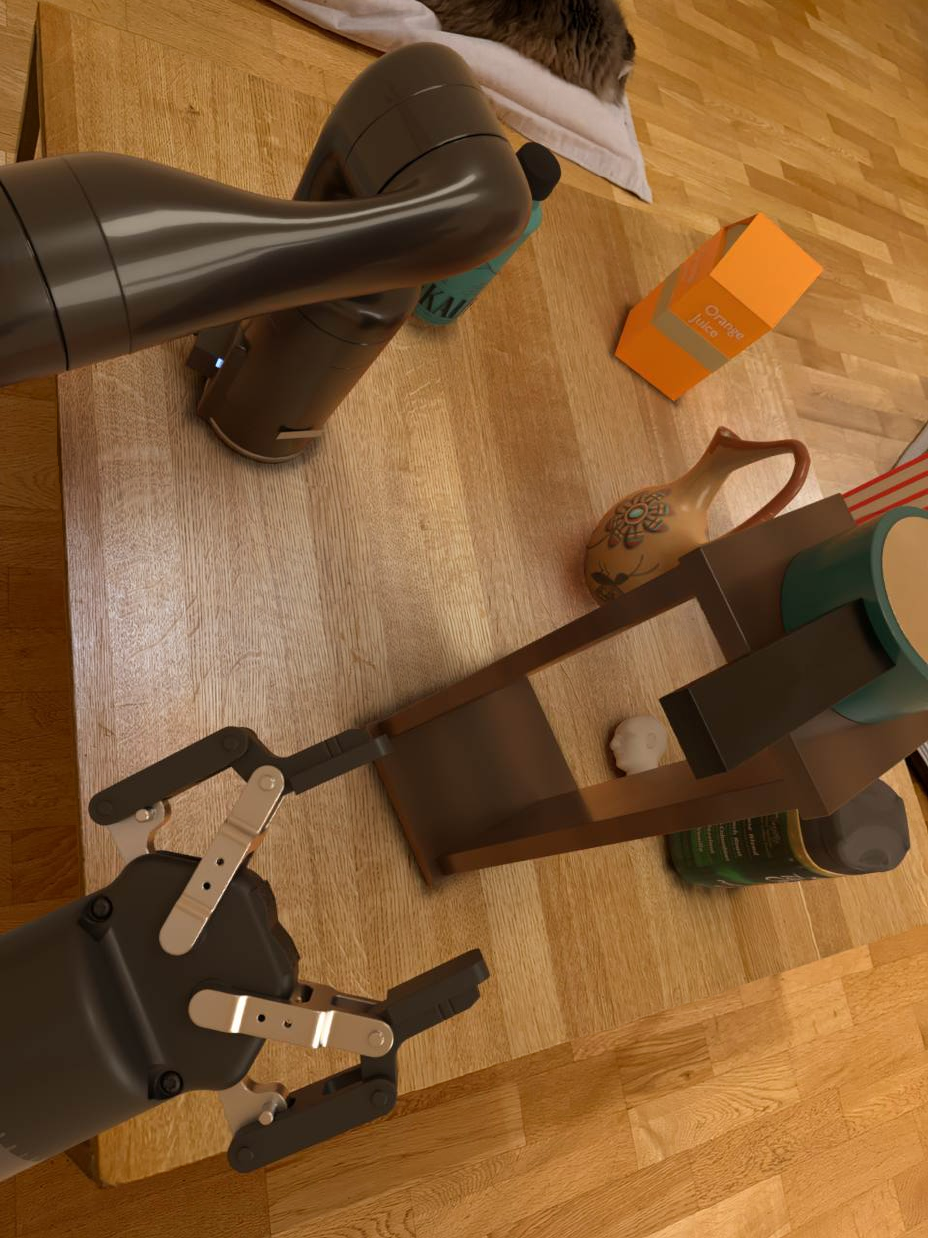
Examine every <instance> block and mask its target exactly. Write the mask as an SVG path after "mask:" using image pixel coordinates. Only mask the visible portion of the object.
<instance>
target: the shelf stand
mask: <svg viewBox="0 0 928 1238" xmlns="http://www.w3.org/2000/svg"><path fill="white" fill-rule="evenodd" d="M856 525H857V524H856V522H855V520H854V518H853V516H852V514H851V512H850V510H849V508H848V507H847V505H846V503H845V501H844V499H843V497H842V493H841V492H837V493H835V494H832V495H830V496H829V495H828V496H827V497H824V498H822V499H821V498H820V499H819V500H816V501H814V502H811V503H809V504H806V505H803V506H800V507H798V508H796V509H794V510H791V511H787V512H785V513H782V514H780V515H776V516H775V517H774V518H772V519H770V520H767V521H764V522H762V523H759V524H757V525H754V526H752V527H749V528H746V529H744V530H741V531H739V532H736V533H733V534H731V535H728V536H726V537H723V538H720V539H718V540H715V541H713V542H710V543H708V544H705V545H702V546H700V547H698V548H696V549H694V550H692V551H690V552H688V553H686V554H685V555H683V556H681V557H679V558H678V561H679V563H680V565H679V566H677V567H675V568H673V569H671V570H669V571H667V572H665V573H663V574H661V575H660V576H658V577H656V578H654V579H652V580H650V581H648V582H646V583H644V584H642V585H640V586H639V587H637V588H635V589H633V590H631V591H629V592H627V593H625V594H623V595H621V596H619V597H618V598H616V599H614V600H612V601H610V602H608V603H606V604H604V605H602V606H598V607H596V608H595V609H593V610H591V611H589V612H587V613H585V614H583V615H581V616H579V617H578V618H575V619H573V620H572V621H570V622H568V623H566V624H564V625H562V626H560V627H558V628H556V629H554V630H552V631H551V632H548V633H547V634H545V635H542V636H541V637H539V638H537V639H536V640H534V641H531V642H529V643H527V644H525V645H524V646H522V647H520V648H518V649H516V650H515V651H512V652H511V653H509V654H507V655H505V656H503V657H501V658H499V659H497V660H495V661H493V662H491V663H490V664H487V665H485V666H484V667H482V668H480V669H478V670H475V671H474V672H473V673H471V674H468V675H467V676H465V677H462V678H461V679H459V680H457V681H455V682H452V683H451V684H449V685H447V686H445V687H444V688H442V689H440V690H438V691H436V692H434V693H433V694H430V695H428V696H425V698H422V699H420V700H419V701H416V702H415V703H413V704H410V705H408V706H405V707H403V708H401V709H399V710H396V711H394V712H391V713H389V714H387V715H384V716H382V717H380V718H377V719H375V720H373V721H370V722H368V723H366V724H363V725H362V726H360V727H359V729H361V728H365V729H367V732H368V734H369V736H370V738H371V740H373V739H375V738H377V737H380V736H382V735H384V734H386V735H387V737H388V739H389V742H390V744H391V746H392V748H393V752H391V753H389V754H386V755H384V756H382V757H380V758H378V759H375V760H373V761H372V762H373V764H374V765H375V767H376V769H377V772H378V774H379V776H380V779H381V782H382V784H383V786H384V789H385V791H386V792H387V795H388V797H389V799H390V803H391V804H392V806H393V808H394V811H395V813H396V815H397V818H398V821H399V822H400V825H401V827H402V830H403V832H404V834H405V836H406V839H407V842H408V843H409V846H410V848H411V850H412V852H413V855H414V857H415V860H416V862H417V864H418V866H419V869H420V870H421V873H422V876H423V878H424V880H425V882H426V884H427V887H433V886H437V885H439V884H441V883H442V882H444V881H445V880H448V879H449V878H451V877H453V876H454V875H457V874H463V873H468V872H473V871H479V870H483V869H488V868H490V869H491V868H495V867H499V866H504V865H510V864H517V863H521V862H526V861H531V860H536V859H541V858H547V857H552V856H558V855H563V854H569V853H574V852H578V851H585V850H589V849H595V848H600V847H606V846H610V845H617V844H621V843H627V842H631V841H637V840H643V839H647V838H653V837H657V836H663V835H664V836H665V835H669V833H675V832H680V831H685V830H690V829H696V828H701V827H706V826H712V825H717V824H722V823H727V822H733V821H738V820H743V819H749V818H754V817H759V816H764V815H770V814H775V813H780V812H785V811H791V810H796V809H798V811H799V813H800V815H801V817H802V819H803V820H807V819H813V818H818V817H824V816H829V815H831V814H832V813H833V812H835V811H836V810H837V809H838V808H840V807H841V806H842V805H844V804H845V803H846V802H848V801H849V800H850V799H852V798H853V797H854V796H856V795H857V794H858V793H860V792H861V791H862V790H864V789H865V788H866V787H868V786H869V785H870V784H872V783H873V782H874V781H875V780H877V779H878V778H879V779H880V778H881V777H882V776H884V775H885V774H886V773H887V772H889V771H890V770H892V769H893V768H894V767H895V766H896V765H898V764H899V763H901V762H902V761H903V760H905V759H906V758H908V757H909V756H910V755H911V754H913V753H914V752H915V751H917V750H918V749H919V748H920V747H922V746H923V745H924V744H926V743H927V742H928V710H927V711H923V712H919V713H915V714H911V715H907V716H904V717H900V718H896V719H892V720H888V721H884V722H881V723H876V724H866V723H860V722H857V721H854V720H851V719H849V718H847V717H845V716H843V715H841V714H840V713H838V712H837V711H835V710H834V709H832V708H829V709H827V710H826V711H824V712H823V713H821V714H820V715H818V716H816V717H815V718H813V719H812V720H810V721H809V722H807V723H805V724H804V725H802V726H801V727H799V728H797V729H796V730H794V731H793V732H791V733H790V734H788V735H786V736H785V737H783V738H782V739H780V740H778V741H777V742H775V743H774V744H772V745H771V746H769V747H767V748H766V749H764V750H763V751H761V752H759V753H758V754H756V755H755V756H753V757H752V758H750V759H748V760H747V761H745V762H744V763H742V764H740V765H739V766H737V767H736V768H734V769H733V770H731V771H729V772H727V773H723V774H719V775H715V776H711V777H707V778H703V779H699V780H696V779H695V776H694V774H693V772H692V770H691V768H690V766H689V764H688V761H687V759H686V758H685V759H683V760H679V761H675V762H673V763H672V762H671V763H667V764H664V765H661V766H658V768H654V769H650V770H647V771H643V772H639V773H636V774H632V775H629V776H626V775H625V776H622V777H618V778H615V779H611V780H608V781H604V782H600V783H597V784H593V785H589V786H585V787H582V788H579V787H578V784H577V782H576V779H575V778H574V776H573V774H572V771H571V768H570V766H569V765H568V762H567V760H566V758H565V756H564V754H563V751H562V750H561V747H560V745H559V742H558V740H557V739H556V736H555V734H554V732H553V730H552V727H551V725H550V722H549V721H548V718H547V717H546V714H545V712H544V710H543V708H542V706H541V703H540V702H539V698H538V697H537V695H536V693H535V690H534V688H533V686H532V684H531V681H530V679H529V677H531V676H534V675H535V674H537V673H539V672H542V671H543V670H546V669H547V668H550V667H553V666H554V665H556V664H558V663H560V662H563V661H565V660H567V659H569V658H571V657H574V656H575V655H578V654H580V653H582V652H584V651H587V650H588V649H590V648H592V647H594V646H596V645H598V644H602V643H603V642H604V641H607V640H609V639H612V638H613V637H616V636H617V635H620V634H622V633H624V632H626V631H628V630H630V629H633V628H634V627H636V626H640V625H641V624H644V623H645V622H647V621H650V620H652V619H653V618H656V617H658V616H660V615H663V614H665V613H667V612H669V611H671V610H673V609H674V608H677V607H679V606H681V605H683V604H686V603H687V602H689V601H692V600H694V599H696V601H697V603H698V605H699V607H700V609H701V611H702V613H703V615H704V617H705V620H706V622H707V624H708V626H709V628H710V630H711V632H712V634H713V636H714V638H715V641H716V642H717V645H718V646H719V649H720V651H721V653H722V655H723V657H724V659H725V661H726V664H727V663H729V662H731V661H732V660H734V659H736V658H738V657H740V656H742V655H744V654H746V653H748V652H750V651H752V650H754V649H756V648H758V647H759V646H761V645H763V644H765V643H767V642H769V641H771V640H773V639H775V638H777V637H779V636H781V635H783V634H785V630H784V626H783V620H782V613H781V590H782V584H783V579H784V576H785V573H786V571H787V569H788V567H789V565H790V563H791V562H792V561H793V559H794V558H795V557H796V556H797V555H798V554H799V553H800V552H802V551H804V550H805V549H807V548H809V547H811V546H814V545H816V544H818V543H820V542H822V541H824V540H826V539H828V538H831V537H833V536H835V535H837V534H839V533H841V532H843V531H846V530H848V529H850V528H852V527H854V526H856Z"/></svg>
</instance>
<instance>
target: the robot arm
mask: <svg viewBox="0 0 928 1238" xmlns="http://www.w3.org/2000/svg"><path fill="white" fill-rule="evenodd" d="M328 115H329V116H328V117H327V119H326V120H325V123H324V124H323V127H322V128H321V131H320V134H319V135H318V137H317V140H316V142H315V145H314V147H313V149H312V151H311V153H310V156H309V158H308V160H307V164H306V165H305V168H304V170H303V172H302V175H301V177H300V179H299V182H298V184H297V186H296V189H295V191H294V192H293V195H292V197H291V199H284V198H279V197H273V196H268V195H264V194H261V193H260V194H259V193H256V192H253V191H249V190H246V189H242V188H239V187H236V186H232V185H230V184H226V183H224V182H220V181H217V180H214V179H211V178H208V177H205V176H202V175H199V174H196V173H194V172H191V171H187V170H184V169H180V168H178V167H175V166H171V165H167V164H164V163H161V162H157V161H153V160H150V159H146V158H142V157H138V156H134V155H129V154H123V153H119V152H110V151H109V152H108V151H100V150H99V151H96V150H95V151H94V150H93V151H77V152H68V153H61V154H57V155H51V156H45V157H41V158H35V159H30V160H29V159H28V160H24V161H19V162H13V163H7V164H2V165H0V389H1V388H5V387H9V386H14V385H17V384H21V383H26V382H29V381H35V380H39V379H43V378H44V379H45V378H49V377H52V376H56V375H60V374H64V373H66V372H71V371H75V370H78V369H79V370H80V369H82V368H85V367H89V366H93V365H96V364H101V363H104V362H107V361H111V360H114V359H118V358H121V357H122V358H123V357H125V356H127V355H128V356H129V355H132V354H136V353H138V352H141V351H144V350H147V349H151V348H154V347H157V346H161V345H164V344H167V343H170V342H173V341H175V340H176V341H177V340H179V339H182V338H187V337H189V336H193V337H194V340H193V342H192V345H191V347H190V349H189V352H188V355H187V357H186V359H185V361H184V365H183V366H184V367H186V368H188V369H190V370H192V371H194V372H196V373H198V374H200V375H202V376H204V377H207V380H205V381H206V382H205V384H204V387H203V391H202V392H203V393H202V395H201V398H200V400H199V402H198V405H197V408H196V410H195V415H196V416H198V417H199V418H200V419H203V420H205V421H207V422H208V423H209V425H210V427H211V428H212V430H213V431H214V432H215V434H216V436H217V437H218V438H219V439H220V440H221V441H222V442H223V443H224V444H225V445H227V446H228V447H229V448H230V449H231V450H233V451H234V452H236V453H238V454H239V455H241V456H243V457H245V458H247V459H250V460H253V461H257V462H261V463H268V464H269V463H272V464H274V463H285V462H287V461H288V462H289V461H291V460H293V459H295V458H297V457H299V456H300V455H301V454H303V453H304V452H305V451H306V450H307V449H308V448H309V447H310V445H311V444H312V442H313V441H314V439H315V438H317V437H321V436H322V435H323V434H324V432H325V431H326V429H322V428H323V427H324V425H325V424H326V423H327V422H328V420H329V419H330V418H331V417H332V415H333V414H334V413H335V411H336V410H337V409H338V407H339V406H340V405H341V404H342V403H343V401H344V400H345V399H346V397H347V396H348V395H349V394H350V393H351V391H352V390H353V389H354V387H356V386H357V384H358V382H359V381H361V379H362V377H363V376H364V375H365V374H366V372H367V371H368V370H369V369H370V368H371V366H372V365H373V364H374V362H375V361H377V359H378V357H379V356H380V355H381V354H382V352H383V351H384V350H385V349H386V347H387V346H388V345H389V344H390V342H391V341H392V340H393V338H395V336H396V335H397V333H398V332H399V331H400V329H401V328H402V327H403V326H404V324H405V323H406V322H407V320H409V318H410V317H411V315H412V314H413V311H414V309H415V307H416V305H417V302H418V300H419V296H420V292H421V285H424V284H429V283H433V282H437V281H440V280H444V279H447V278H450V277H453V276H456V275H459V274H462V273H465V272H468V271H470V270H472V269H474V268H476V267H479V266H481V265H483V264H485V263H487V262H489V261H491V260H492V259H494V258H496V257H497V256H499V255H500V254H501V253H503V252H504V251H505V250H507V249H508V248H509V247H510V246H511V245H513V244H514V243H515V242H516V241H517V240H518V239H519V237H520V236H521V235H522V233H523V232H524V231H525V229H526V227H527V225H528V223H529V220H530V218H531V212H532V195H531V192H530V188H529V185H528V182H527V179H526V176H525V173H524V171H523V169H522V166H521V164H520V162H519V160H518V158H517V156H516V154H515V153H516V151H515V150H514V148H513V147H512V144H511V142H510V140H509V138H508V137H507V134H506V132H505V130H504V129H503V126H502V125H501V122H500V120H499V119H498V117H497V115H496V113H495V111H494V110H493V107H492V105H491V104H490V102H489V100H488V97H487V96H486V94H485V92H484V90H483V89H482V86H481V85H480V83H479V81H478V79H477V78H476V76H475V73H474V72H473V70H472V68H471V66H469V64H468V62H467V61H466V60H465V58H464V57H463V56H462V55H461V54H459V53H458V51H456V50H455V49H453V48H451V47H450V46H448V45H446V44H442V43H439V42H435V41H416V42H415V41H414V42H410V43H407V44H404V45H403V44H402V45H400V46H398V47H395V48H393V49H391V50H389V51H387V52H386V53H384V54H383V55H381V56H379V57H378V58H377V59H375V60H374V61H372V62H371V63H370V64H369V65H368V66H366V67H365V68H364V69H363V70H362V71H361V72H359V74H358V75H357V76H356V77H354V79H353V80H352V82H351V83H349V85H348V86H347V87H346V89H345V90H344V92H343V93H342V94H341V96H340V97H339V99H338V100H337V101H336V103H335V105H334V107H333V109H332V110H331V112H330V113H329V114H328ZM391 752H393V748H392V746H391V744H390V742H389V739H388V737H387V735H386V734H384V735H382V736H380V737H377V738H375V739H373V740H371V738H370V736H369V734H368V732H367V729H365V728H361V729H360V728H348V729H346V730H344V731H342V732H339V733H337V734H335V735H333V736H331V737H328V738H326V739H324V740H321V741H319V742H318V743H315V744H313V745H311V746H308V747H306V748H304V749H302V750H300V751H297V752H295V753H293V754H291V755H288V756H280V755H278V754H276V753H273V752H272V751H271V749H269V748H268V747H267V746H266V745H265V744H264V743H263V741H261V739H259V736H258V734H257V733H256V731H255V730H253V729H252V728H250V727H247V726H236V725H228V726H225V727H222V728H220V729H218V730H216V731H215V732H213V733H211V734H209V735H206V736H204V737H202V738H201V739H199V740H197V741H195V742H193V743H191V744H189V745H187V746H185V747H183V748H181V749H179V750H178V751H176V752H173V753H172V754H170V755H168V756H166V757H164V758H162V759H160V760H159V761H156V762H155V763H152V764H151V765H149V766H146V767H145V768H143V769H141V770H139V771H137V772H135V773H133V774H131V775H129V776H127V777H125V778H124V779H122V780H120V781H118V782H115V783H114V784H112V785H110V786H108V787H106V788H104V789H102V790H100V791H99V792H97V793H95V794H94V795H93V796H92V797H91V799H90V800H89V802H88V807H87V812H88V815H89V818H90V819H91V820H92V822H93V823H95V824H96V825H98V826H106V828H107V830H108V833H109V834H110V837H111V839H112V841H113V843H114V845H115V847H116V850H117V851H118V853H119V855H120V857H121V859H122V861H123V863H124V868H123V869H122V870H121V871H120V873H119V874H118V875H117V877H115V878H114V880H112V882H110V883H109V884H108V885H106V886H105V887H102V888H100V889H97V890H96V891H94V892H91V893H89V894H87V895H85V896H83V897H81V898H78V899H76V900H74V901H72V902H70V903H67V904H65V905H63V906H61V907H59V908H57V909H54V910H51V911H50V912H48V913H46V914H43V915H41V916H38V917H37V918H35V919H33V920H30V921H28V922H26V923H24V924H21V925H19V926H17V927H15V928H13V929H11V930H8V931H6V932H4V933H1V934H0V1183H1V1182H3V1181H5V1180H8V1179H9V1178H11V1177H14V1176H15V1175H17V1174H19V1173H22V1172H24V1171H25V1170H28V1169H30V1168H32V1167H34V1166H36V1165H39V1164H41V1163H42V1162H44V1161H47V1160H48V1159H50V1158H53V1157H55V1156H56V1155H59V1154H61V1153H63V1152H65V1151H67V1150H69V1149H71V1148H73V1147H75V1146H77V1145H79V1144H81V1143H84V1142H86V1141H88V1140H91V1139H93V1138H94V1137H96V1136H98V1135H100V1134H102V1133H104V1132H106V1131H108V1130H110V1129H113V1128H115V1127H117V1126H119V1125H121V1124H123V1123H125V1122H127V1121H129V1120H131V1119H133V1118H135V1117H137V1116H140V1115H141V1114H143V1113H146V1112H147V1111H149V1110H152V1109H154V1108H156V1107H158V1106H160V1105H162V1104H164V1103H166V1102H168V1101H171V1100H173V1099H175V1098H176V1097H179V1096H180V1095H183V1094H186V1093H190V1092H194V1091H195V1092H196V1091H209V1092H210V1091H211V1092H216V1093H217V1096H218V1098H219V1099H218V1100H219V1102H220V1104H221V1107H222V1111H223V1113H224V1117H225V1119H226V1122H227V1125H228V1129H229V1132H230V1135H231V1141H230V1144H229V1145H228V1148H227V1151H226V1152H227V1153H226V1159H227V1162H228V1164H229V1166H230V1168H232V1169H233V1171H235V1172H237V1173H240V1174H249V1173H252V1172H254V1171H257V1170H258V1169H262V1168H263V1167H265V1166H266V1167H267V1166H268V1165H271V1164H273V1163H276V1162H278V1161H280V1160H283V1159H286V1158H288V1157H289V1156H292V1155H294V1154H297V1153H300V1152H301V1151H305V1150H306V1149H308V1148H311V1147H313V1146H314V1147H315V1146H316V1145H319V1144H321V1143H323V1142H325V1141H327V1140H330V1139H332V1138H335V1137H337V1136H339V1135H341V1134H344V1133H347V1132H350V1131H352V1130H354V1129H356V1128H358V1127H361V1126H363V1125H366V1124H368V1123H370V1122H373V1121H375V1120H378V1119H379V1118H382V1117H385V1116H386V1115H388V1114H390V1113H391V1112H392V1111H393V1110H394V1109H395V1107H396V1106H397V1102H398V1089H399V1088H398V1087H399V1067H398V1051H399V1049H400V1047H401V1045H402V1044H403V1043H404V1042H406V1041H407V1040H409V1039H411V1038H413V1037H415V1036H416V1035H419V1034H421V1033H422V1032H425V1031H427V1030H429V1029H430V1028H433V1027H435V1026H437V1025H439V1024H441V1023H443V1022H444V1021H447V1020H449V1019H451V1018H453V1017H455V1016H457V1015H459V1014H461V1013H463V1012H466V1011H467V1010H469V1009H471V1008H472V1007H473V1006H474V1004H475V1003H476V1002H478V1000H479V999H481V997H482V995H481V992H480V989H479V985H480V984H482V983H484V982H485V981H487V980H488V979H489V978H490V977H491V973H490V970H489V967H488V964H487V962H486V960H485V957H484V955H483V952H482V951H481V949H480V948H479V947H477V948H472V949H470V950H468V951H466V952H463V953H461V954H460V955H457V956H455V957H453V958H451V959H449V960H447V961H445V962H442V963H441V964H438V965H437V966H435V967H432V968H430V969H428V970H427V971H424V972H422V973H420V974H418V975H416V976H413V977H412V978H409V979H408V980H406V981H404V982H401V983H399V984H397V985H395V986H393V987H391V988H389V989H387V990H386V998H385V999H383V1000H377V999H374V998H368V997H365V996H359V995H356V994H351V993H347V992H343V991H339V990H337V989H336V988H334V987H332V986H331V985H327V984H325V983H324V984H323V983H319V982H314V981H310V980H306V979H300V978H299V974H300V969H299V968H300V966H299V962H300V960H301V956H300V953H299V951H298V948H297V946H296V944H295V941H294V939H293V937H292V936H291V934H289V932H288V931H287V930H286V928H285V927H284V926H283V924H281V921H280V920H279V914H278V913H279V912H278V907H277V900H276V896H275V894H274V892H273V888H272V887H271V884H270V882H269V880H268V878H266V879H263V878H262V876H260V874H258V873H257V872H256V871H255V870H253V869H251V868H249V866H250V864H251V862H252V860H253V859H254V857H255V855H256V853H257V851H258V850H259V848H260V846H261V845H262V842H263V841H264V840H265V837H266V835H267V833H268V832H269V831H268V830H269V828H270V826H271V824H272V822H273V821H274V819H275V817H276V815H277V814H278V811H279V810H280V808H281V806H282V804H283V803H284V802H285V799H286V798H287V796H288V795H289V794H291V793H293V792H294V794H295V796H298V795H300V794H303V793H305V792H307V791H310V790H312V789H314V788H317V787H318V786H320V785H323V784H324V783H327V782H329V781H332V780H334V779H336V778H339V777H340V776H343V775H344V774H347V773H349V772H351V771H353V770H355V769H358V768H360V767H362V766H364V765H366V764H369V763H371V762H374V761H373V760H375V759H378V758H380V757H382V756H384V755H386V754H389V753H391ZM230 768H232V769H233V770H234V771H235V773H236V774H237V775H238V776H239V777H240V778H241V779H242V780H243V781H244V782H245V783H246V785H244V788H243V790H242V792H241V793H240V795H239V796H238V798H237V800H236V802H235V804H234V805H233V807H232V809H231V810H230V813H229V814H228V816H227V817H226V819H225V820H224V821H223V822H222V824H221V825H220V827H219V828H218V830H217V831H216V833H215V835H214V837H213V839H212V841H211V842H210V844H209V846H208V847H207V849H206V851H205V853H204V855H203V856H202V857H200V856H195V855H190V854H186V853H180V852H175V851H170V850H166V849H165V850H164V849H158V850H157V849H156V846H155V837H156V834H157V832H158V831H159V830H160V829H161V828H163V826H165V825H167V823H168V822H169V820H170V818H171V816H172V806H171V803H170V801H169V800H171V799H173V798H175V797H177V796H179V795H180V794H182V793H184V792H186V791H188V790H190V789H192V788H194V787H195V786H198V785H200V784H202V783H203V782H205V781H207V780H209V779H211V778H213V777H215V776H217V775H219V774H221V773H223V772H225V771H227V770H229V769H230ZM299 998H300V999H299ZM287 1021H289V1022H290V1023H289V1022H287ZM267 1040H270V1041H275V1042H279V1043H284V1044H287V1045H288V1044H289V1045H293V1046H297V1047H302V1048H307V1049H320V1048H330V1049H335V1050H339V1051H344V1052H348V1053H352V1054H357V1055H359V1058H360V1063H358V1064H355V1065H353V1066H351V1067H347V1068H345V1069H343V1070H341V1071H338V1072H336V1073H333V1074H331V1075H329V1076H326V1077H324V1078H321V1079H319V1080H316V1081H314V1082H311V1083H309V1084H307V1085H304V1086H302V1087H299V1088H298V1089H295V1090H292V1091H289V1089H288V1088H287V1087H286V1085H284V1084H282V1083H280V1082H277V1081H270V1082H266V1083H261V1082H257V1081H255V1080H253V1079H252V1078H251V1077H250V1076H249V1072H250V1070H251V1068H252V1067H253V1064H254V1063H255V1061H256V1059H257V1057H258V1056H259V1054H260V1052H261V1050H262V1049H263V1047H264V1045H265V1044H266V1042H267Z"/></svg>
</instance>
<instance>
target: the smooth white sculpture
mask: <svg viewBox="0 0 928 1238" xmlns="http://www.w3.org/2000/svg"><path fill="white" fill-rule="evenodd" d="M668 737H669V735H668V731H667V728H666V726H665V724H664V723H663V722H662V721H661V720H659V719H658V718H656V717H654V716H652V715H647V714H635V715H633V716H629V717H628V718H626V719H624V720H623V721H622V722H620V724H618V726H617V727H616V729H615V731H614V736H613V737H612V740H611V741H610V742H609V747H610V750H611V751H613V756H614V758H615V760H616V761H615V765H616V767H617V768H618V769H620V770H622V771H624V772H625V773H626V775H625V776H629V775H632V774H636V773H639V772H643V771H647V770H650V769H654V768H658V767H659V761H660V760H661V758H662V757H663V755H664V754H665V752H666V749H667V747H668V740H669V738H668Z"/></svg>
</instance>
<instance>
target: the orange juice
mask: <svg viewBox="0 0 928 1238" xmlns="http://www.w3.org/2000/svg"><path fill="white" fill-rule="evenodd" d="M823 271H824V267H823V266H821V265H820V264H819V263H818V262H817V261H816V260H815V259H814V258H812V257H811V256H810V255H809V254H808V253H807V252H806V251H805V250H804V249H803V248H801V247H800V246H799V245H798V244H797V243H796V242H795V241H794V240H793V239H792V238H790V237H789V236H788V234H786V233H785V232H784V231H783V230H781V229H780V228H779V227H778V226H777V225H776V224H775V223H774V222H772V221H771V220H770V219H769V218H768V217H767V216H766V215H765V214H763V212H761V211H759V212H758V213H756V214H753V215H751V216H748V217H745V218H743V219H741V220H737V221H735V222H733V223H730V224H729V225H726V226H722V227H721V228H720V229H719V230H718V231H717V232H715V233H714V235H712V236H711V237H710V238H709V239H708V240H706V242H704V244H702V245H701V246H700V247H699V248H698V249H697V250H696V251H695V252H694V253H692V254H691V255H690V256H689V257H688V258H686V259H685V260H684V261H683V262H681V264H679V265H678V266H677V267H676V268H675V269H673V271H671V273H669V274H668V275H667V276H666V277H665V278H664V279H663V280H662V281H661V282H660V283H659V284H658V285H657V286H655V287H654V289H653V290H651V291H650V292H649V293H648V294H647V295H645V297H643V299H641V300H640V301H639V302H638V303H637V304H635V305H634V306H633V308H631V309H630V310H629V312H628V315H627V319H626V321H625V324H624V326H623V330H622V332H621V335H620V338H619V341H618V344H617V347H616V349H615V352H614V356H615V357H617V359H619V360H620V361H621V362H623V363H624V364H625V365H626V366H627V367H629V368H630V369H632V370H633V371H634V372H635V373H637V374H638V375H639V376H640V377H642V378H643V379H644V380H646V381H647V382H648V383H649V384H651V385H652V386H653V387H655V388H656V389H657V390H658V391H660V392H661V393H662V394H664V395H665V396H666V397H667V398H669V399H670V400H672V401H673V402H675V401H677V399H679V398H681V397H682V396H683V395H685V394H686V393H688V392H689V391H690V390H692V389H693V388H695V386H697V385H698V384H699V383H701V382H702V381H704V380H705V379H706V378H708V377H709V376H710V375H712V374H714V373H715V372H717V371H719V370H720V369H721V368H723V367H724V366H725V365H727V364H728V363H729V362H730V361H731V360H732V359H734V358H735V357H736V356H738V355H739V354H741V353H742V352H743V351H745V350H746V349H747V348H749V347H750V346H751V345H753V344H754V343H756V341H758V340H759V339H761V338H762V337H764V336H765V335H766V334H768V333H769V332H770V331H772V330H773V329H775V327H776V325H777V324H778V323H779V322H780V321H781V320H782V318H783V317H784V316H785V315H786V314H787V313H788V311H789V310H791V308H792V307H793V306H794V305H795V304H796V303H797V301H798V300H799V299H800V298H801V297H802V295H803V294H804V293H805V292H806V290H808V288H810V286H811V285H812V284H813V283H814V282H815V280H816V279H817V278H818V276H819V275H820V274H821V273H822V272H823Z"/></svg>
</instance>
